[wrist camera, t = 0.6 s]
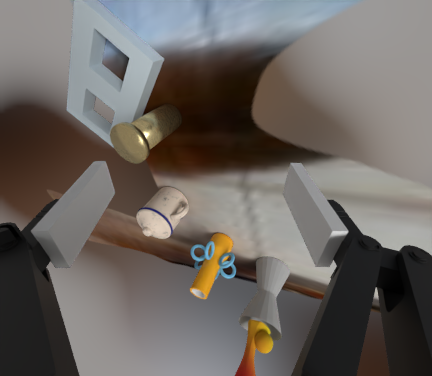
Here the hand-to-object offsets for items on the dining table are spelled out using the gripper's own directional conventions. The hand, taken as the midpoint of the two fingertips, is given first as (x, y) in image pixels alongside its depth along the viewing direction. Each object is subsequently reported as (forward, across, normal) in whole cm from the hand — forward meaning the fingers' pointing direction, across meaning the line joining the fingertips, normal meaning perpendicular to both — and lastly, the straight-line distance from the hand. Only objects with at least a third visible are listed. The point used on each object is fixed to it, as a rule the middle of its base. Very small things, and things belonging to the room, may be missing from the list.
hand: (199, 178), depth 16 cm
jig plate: (+32, -18, 0) cm, 36 cm away
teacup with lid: (+30, -7, -25) cm, 39 cm away
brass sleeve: (+28, -7, -4) cm, 29 cm away
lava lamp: (+20, +17, -40) cm, 48 cm away
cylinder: (+26, +4, -36) cm, 44 cm away
